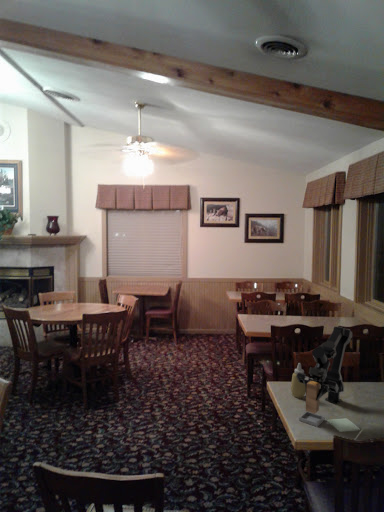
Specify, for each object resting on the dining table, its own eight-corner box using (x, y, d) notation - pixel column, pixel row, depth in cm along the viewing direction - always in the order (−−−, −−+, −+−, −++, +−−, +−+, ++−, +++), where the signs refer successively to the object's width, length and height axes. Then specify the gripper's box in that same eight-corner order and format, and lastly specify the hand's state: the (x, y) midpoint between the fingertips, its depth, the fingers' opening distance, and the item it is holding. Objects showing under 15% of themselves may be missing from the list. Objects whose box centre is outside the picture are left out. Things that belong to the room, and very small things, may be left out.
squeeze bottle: (288, 393, 210) (289, 360, 209) (302, 393, 211) (303, 360, 209) (293, 399, 202) (294, 366, 201) (308, 399, 203) (309, 365, 201)
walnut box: (309, 407, 182) (310, 380, 181) (318, 410, 179) (320, 382, 178) (305, 410, 178) (306, 382, 177) (315, 413, 175) (316, 385, 174)
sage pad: (327, 421, 179) (327, 419, 179) (346, 420, 181) (346, 418, 181) (339, 432, 169) (339, 430, 169) (359, 431, 171) (360, 428, 171)
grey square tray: (306, 415, 185) (306, 411, 185) (324, 420, 179) (324, 416, 179) (299, 421, 178) (299, 417, 178) (317, 427, 173) (317, 423, 173)
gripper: (298, 355, 186) (287, 384, 178) (337, 364, 174) (328, 396, 166) (304, 367, 193) (294, 396, 185) (342, 377, 181) (333, 407, 173)
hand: (311, 398), depth 177 cm, fingers closed on walnut box, 4 cm apart
